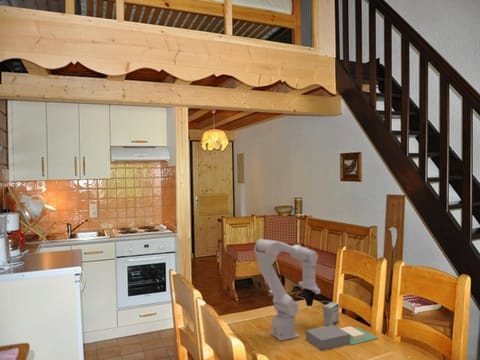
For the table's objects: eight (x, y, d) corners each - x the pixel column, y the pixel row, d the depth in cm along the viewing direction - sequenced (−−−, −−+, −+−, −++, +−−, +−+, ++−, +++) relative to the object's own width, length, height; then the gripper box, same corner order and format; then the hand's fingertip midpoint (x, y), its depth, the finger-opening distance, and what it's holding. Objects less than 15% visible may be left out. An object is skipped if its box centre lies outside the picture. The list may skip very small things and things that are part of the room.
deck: (321, 350, 144) (321, 340, 144) (305, 339, 154) (305, 330, 154) (350, 344, 150) (349, 334, 150) (333, 333, 160) (332, 324, 160)
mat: (351, 345, 149) (351, 344, 149) (331, 333, 161) (331, 332, 161) (378, 338, 154) (378, 338, 154) (357, 327, 166) (357, 327, 166)
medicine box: (332, 326, 168) (332, 307, 168) (323, 324, 170) (322, 306, 171) (339, 321, 174) (338, 303, 174) (330, 319, 177) (329, 301, 177)
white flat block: (364, 333, 154) (364, 338, 154) (350, 326, 162) (350, 330, 162) (353, 336, 152) (353, 341, 152) (339, 328, 160) (339, 333, 160)
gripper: (325, 278, 163) (326, 309, 163) (307, 271, 176) (307, 299, 176) (312, 280, 160) (312, 311, 160) (294, 273, 173) (295, 301, 173)
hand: (309, 305), depth 168 cm, fingers closed
